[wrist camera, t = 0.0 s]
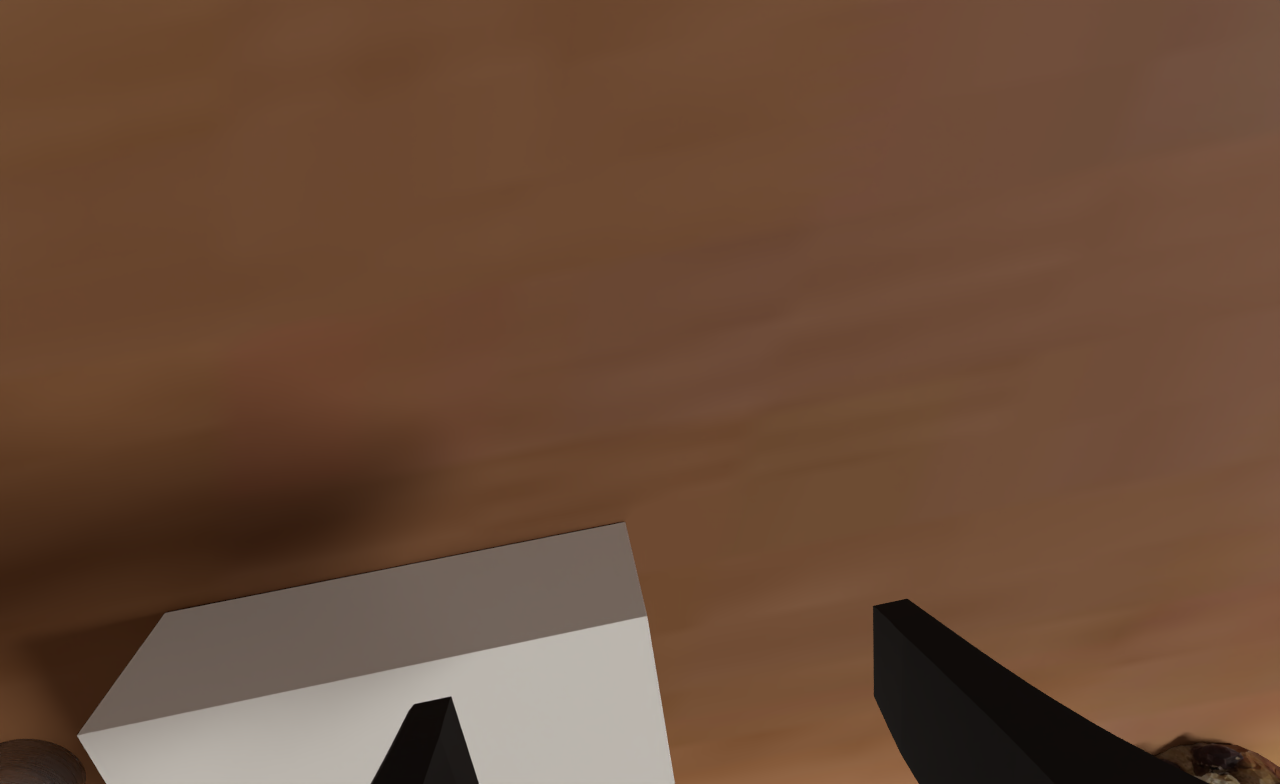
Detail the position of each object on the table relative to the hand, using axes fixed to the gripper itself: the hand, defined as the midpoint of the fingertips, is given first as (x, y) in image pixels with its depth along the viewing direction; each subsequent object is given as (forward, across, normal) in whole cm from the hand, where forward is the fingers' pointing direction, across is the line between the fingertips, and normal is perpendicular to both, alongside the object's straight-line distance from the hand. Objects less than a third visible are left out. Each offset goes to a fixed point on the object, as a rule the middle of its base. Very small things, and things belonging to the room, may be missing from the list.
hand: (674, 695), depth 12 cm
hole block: (+10, +7, +10) cm, 16 cm away
